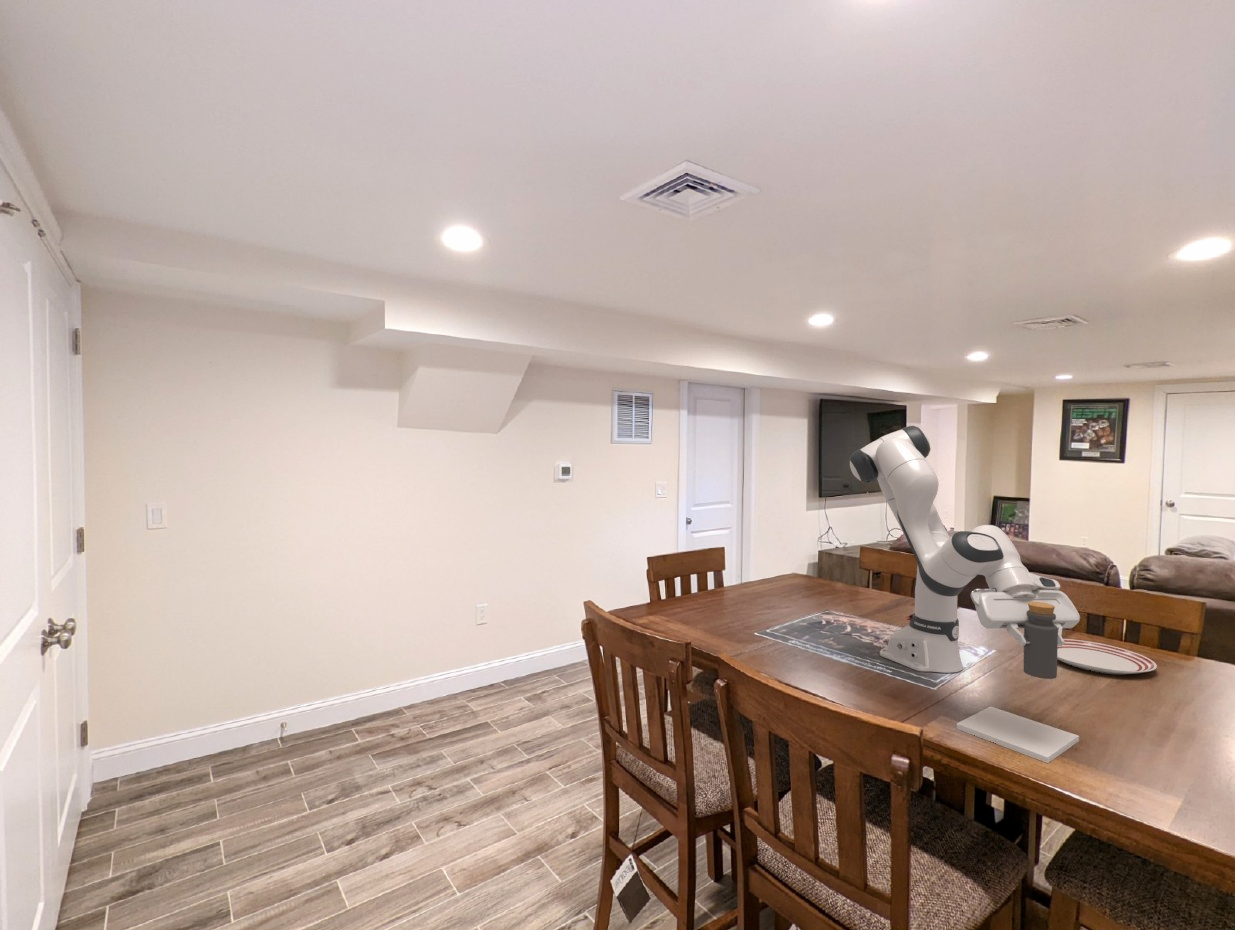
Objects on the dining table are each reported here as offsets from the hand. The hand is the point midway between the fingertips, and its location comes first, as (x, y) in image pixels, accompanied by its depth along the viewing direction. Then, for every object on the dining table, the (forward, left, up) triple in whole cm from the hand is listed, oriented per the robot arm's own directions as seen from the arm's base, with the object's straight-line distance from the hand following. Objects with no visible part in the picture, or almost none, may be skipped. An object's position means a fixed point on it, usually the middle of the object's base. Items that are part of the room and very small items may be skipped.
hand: (1042, 645), depth 126 cm
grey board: (-6, +2, -22) cm, 23 cm away
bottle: (-1, 0, -7) cm, 7 cm away
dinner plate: (-13, +70, -23) cm, 75 cm away
